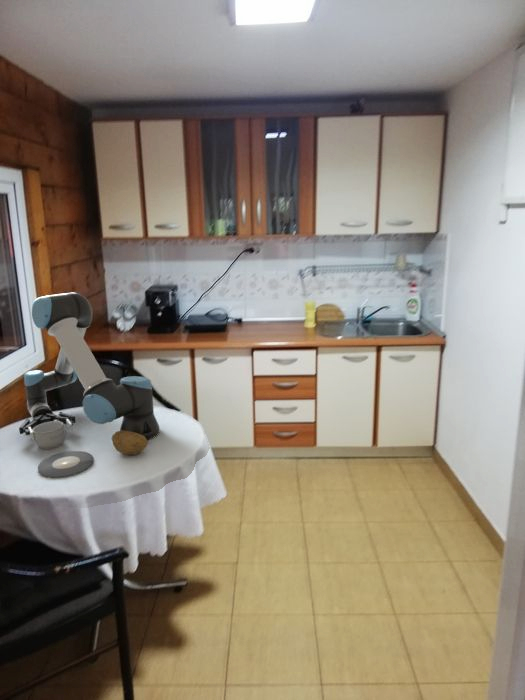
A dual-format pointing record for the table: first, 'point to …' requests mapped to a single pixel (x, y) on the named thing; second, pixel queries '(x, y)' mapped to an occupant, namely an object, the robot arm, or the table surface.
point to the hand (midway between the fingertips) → (52, 431)
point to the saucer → (65, 464)
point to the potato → (129, 442)
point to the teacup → (49, 434)
